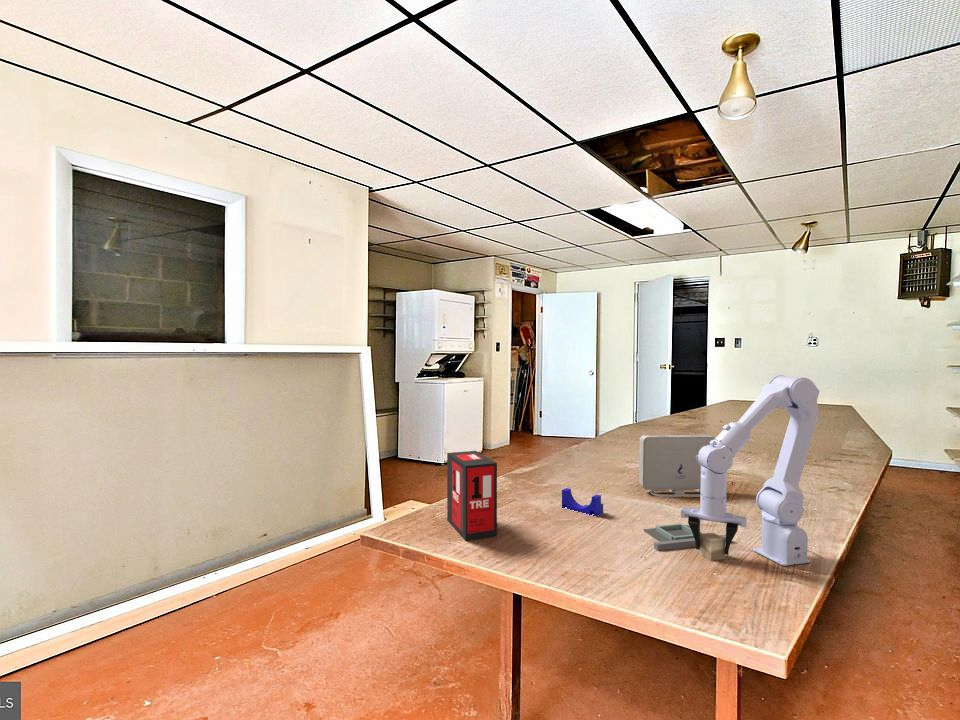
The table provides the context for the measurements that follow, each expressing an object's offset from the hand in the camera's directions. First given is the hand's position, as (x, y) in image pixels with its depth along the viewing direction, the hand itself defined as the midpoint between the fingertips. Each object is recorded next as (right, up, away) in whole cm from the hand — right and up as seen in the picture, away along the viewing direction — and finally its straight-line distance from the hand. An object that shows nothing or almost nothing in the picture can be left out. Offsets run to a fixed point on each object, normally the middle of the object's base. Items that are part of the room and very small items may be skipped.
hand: (712, 550), depth 123 cm
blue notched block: (-25, -1, +33) cm, 42 cm away
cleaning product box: (-59, -1, +19) cm, 62 cm away
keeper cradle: (-3, -1, +13) cm, 14 cm away
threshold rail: (-2, -1, +7) cm, 7 cm away
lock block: (0, -1, 0) cm, 1 cm away
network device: (+12, 0, +52) cm, 53 cm away
